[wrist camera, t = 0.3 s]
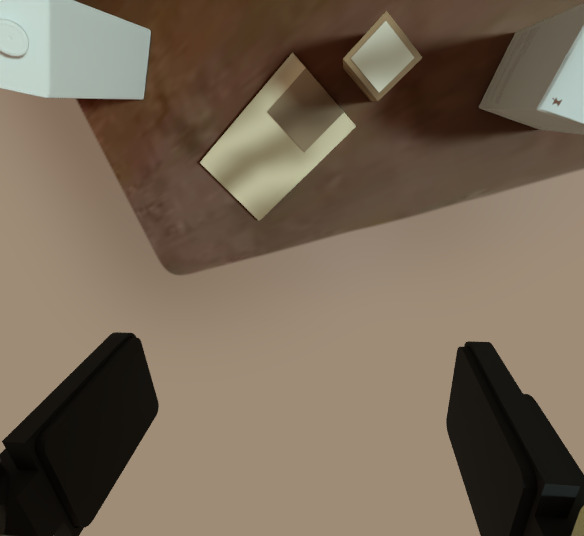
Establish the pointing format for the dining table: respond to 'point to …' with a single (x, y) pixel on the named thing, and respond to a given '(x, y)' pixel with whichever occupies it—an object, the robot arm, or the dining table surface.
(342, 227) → the dining table surface
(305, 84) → the board
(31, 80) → the milk carton
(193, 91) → the dining table surface
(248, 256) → the dining table surface
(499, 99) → the supplement box
